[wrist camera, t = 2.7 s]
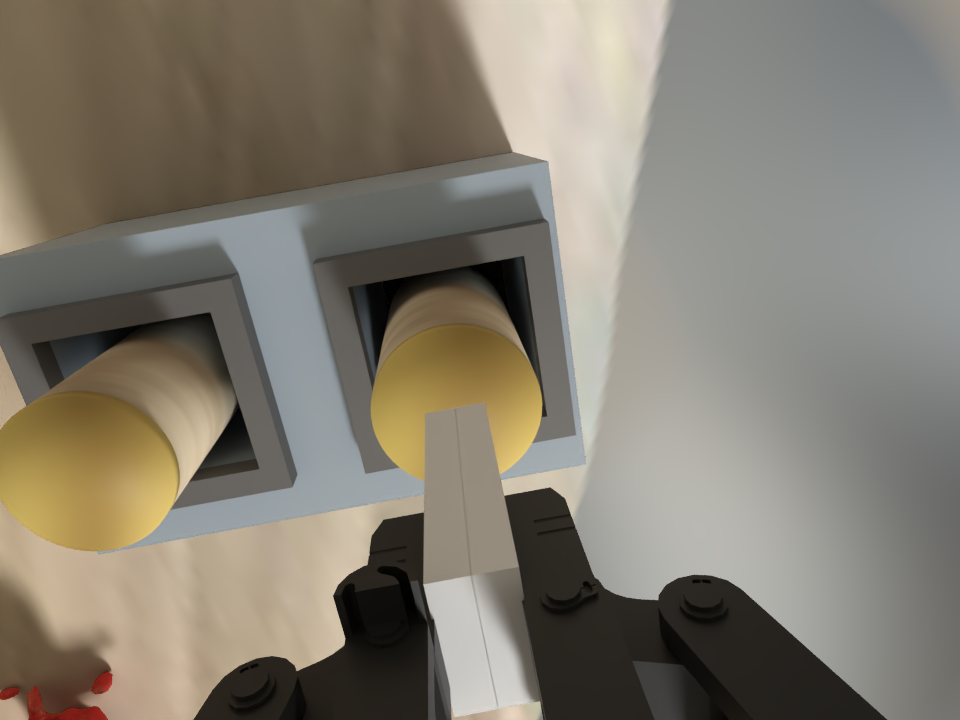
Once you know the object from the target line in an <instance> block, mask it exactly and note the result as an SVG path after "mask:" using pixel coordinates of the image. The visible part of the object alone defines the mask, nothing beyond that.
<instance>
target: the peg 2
mask: <svg viewBox="0 0 960 720" xmlns="http://www.w3.org/2000/svg"><path fill="white" fill-rule="evenodd" d="M479 403H485V405H486V410H487V415H488V420H489V425H490V430H491V434H492V439H493V444H494V449H495V454H496V459H497V463H498V468H499V473H500V474H502V473H503V472H505V471H506V470H508V469H509V468H511V467H512V466H513V465H514V464H515V463H516V462H517V461H519V459H520V458H521V457H522V456H523V455H524V454H525V453H526V451H527V450H528V448H529V447H530V446H531V444H532V442H533V440H534V438H535V436H536V434H537V431H538V428H539V426H540V421H541V416H542V395H541V390H540V386H539V383H538V380H537V377H536V375H535V372H534V370H533V368H532V366H531V363H530V361H529V359H528V357H527V354H526V352H525V350H524V348H523V345H522V343H521V341H520V339H519V336H518V334H517V332H516V330H515V327H514V325H513V323H512V320H511V318H510V316H509V314H508V311H507V309H506V307H505V305H504V302H503V300H502V298H501V296H500V294H499V292H498V290H497V289H496V288H495V286H494V285H493V284H492V283H491V282H490V281H489V279H488V278H486V277H485V276H484V275H482V274H481V273H479V272H478V271H476V270H474V269H472V268H470V267H467V266H464V267H459V268H453V269H447V270H442V271H436V272H431V273H425V274H420V275H414V276H410V277H408V278H407V279H406V280H405V281H404V282H403V283H402V285H401V286H400V287H399V288H398V290H397V292H396V293H395V295H394V297H393V300H392V302H391V306H390V309H389V314H388V319H387V324H386V329H385V334H384V338H383V343H382V348H381V353H380V358H379V363H378V368H377V372H376V377H375V382H374V387H373V392H372V398H371V419H372V425H373V429H374V432H375V435H376V437H377V439H378V442H379V444H380V446H381V447H382V449H383V450H384V452H385V453H386V454H387V455H388V457H389V458H390V459H391V460H392V461H393V462H394V463H395V464H396V465H397V466H399V467H400V468H401V469H402V470H404V471H405V472H407V473H408V474H410V475H412V476H414V477H416V478H418V479H420V480H423V481H424V478H425V413H430V412H435V411H441V410H446V409H452V408H457V407H463V406H468V405H474V404H479Z"/></svg>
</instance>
